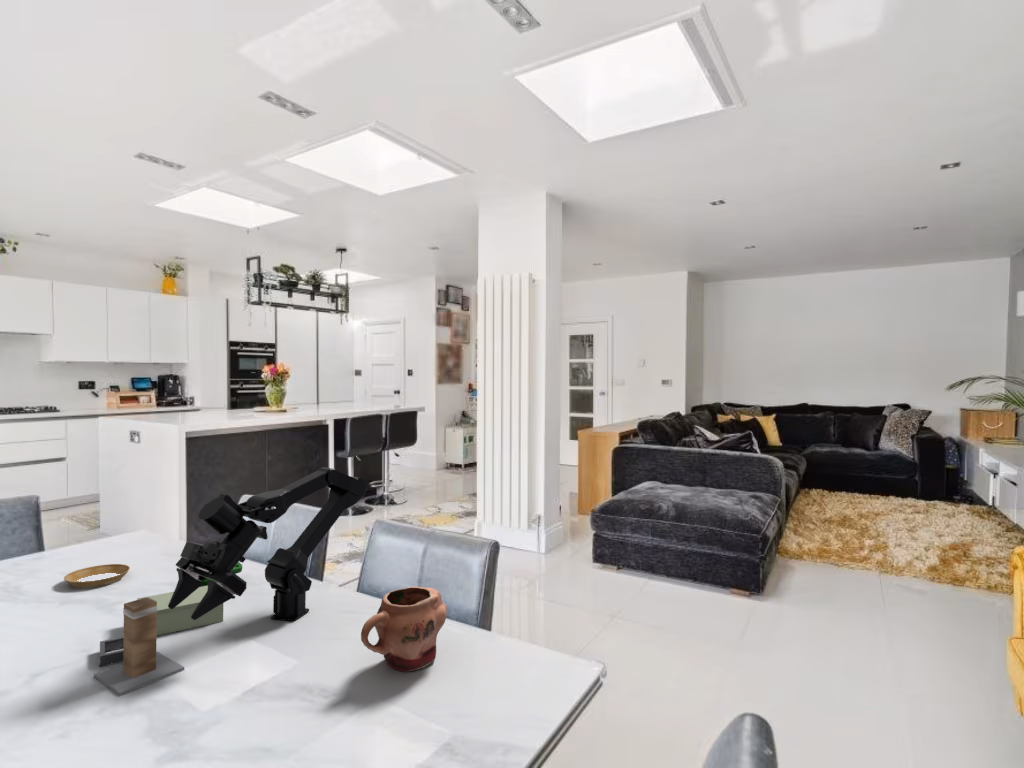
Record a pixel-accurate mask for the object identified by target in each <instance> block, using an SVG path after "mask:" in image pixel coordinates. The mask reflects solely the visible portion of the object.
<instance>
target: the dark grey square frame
mask: <svg viewBox="0 0 1024 768" xmlns="http://www.w3.org/2000/svg"><path fill="white" fill-rule="evenodd" d="M123 647H124V636H120V637H115V638H111V639H107V640H101V641H99V667H104V666H110V665H113V664H117V663H118V664H119V663H123ZM119 649H120V650H119ZM114 650H115V651H114ZM110 651H111V652H110ZM106 652H107V653H106Z"/></svg>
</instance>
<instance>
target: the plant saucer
mask: <svg viewBox="0 0 1024 768" xmlns="http://www.w3.org/2000/svg"><path fill="white" fill-rule="evenodd" d="M130 569H131V567H130V566H129V565H128V564H124V563H123V564H120V563H110V564H101V565H93V566H89V567H88V566H87V567H84V568H81V569H77V570H74V571H72V572H69V573H67V574H66V575H65V576H64V577H63V580H64V581H65V582H66V583H68V584H69V585H70V586H71V587H74V588H77V587H78V589H92V588H91V587H93V588H98V587H97V586H100V587H103V586H102V585H104V586H108V585H111V584H110V583H112V584H114V583H117V582H119V581H121V579H122V578H124V577H125V576H126V574H128V572H129V571H130ZM105 573H116V574H120V575H117V576H114V577H110V578H106V579H101V580H95V581H85V582H81V581H80V582H79V581H77V580H79V579H81V578H85V577H88V576H92V575H98V574H105ZM116 581H117V582H116ZM113 582H114V583H113ZM107 584H108V585H107Z"/></svg>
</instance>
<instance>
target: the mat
mask: <svg viewBox="0 0 1024 768" xmlns="http://www.w3.org/2000/svg"><path fill="white" fill-rule="evenodd" d="M182 671H185V666H183V665H181V664H180V663H178V662H176V661H174V660H173V659H171V658H170V657H168V656H166V655H164V654H163V653H161V652H159V651H156V669H155V670H153V671H150V672H148V673H145V674H143V675H140V676H138V677H135V678H132V677H130V676H129V675H127V674H126V673H124V672H123V663H121V664H119V665H117V666H114V667H110V668H108V669H105V670H103V671H100V672H97V673H94V674H93V678H95V679H96V680H97V681H99V682H100V683H102V684H103V685H104V686H106V688H107V687H108V689H110V690H111V691H113V692H114V693H116V694H117V695H119V697H120V696H123V695H126V694H127V693H130V692H132V691H135V690H138V689H139V688H142V687H145V686H148V685H150V684H152V683H153V684H154V683H155V682H157V681H160V680H163V679H165V678H168V677H170V676H173V675H175V674H177V673H179V672H182Z"/></svg>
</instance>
